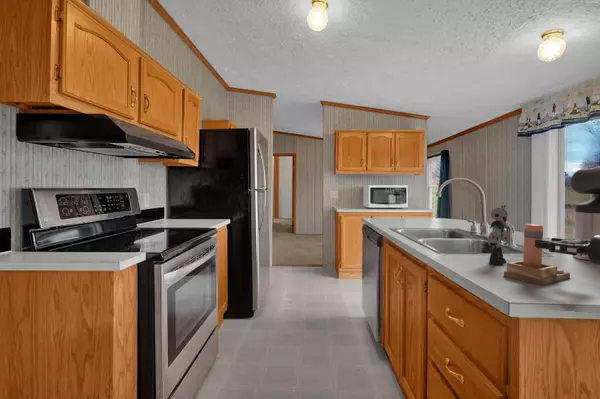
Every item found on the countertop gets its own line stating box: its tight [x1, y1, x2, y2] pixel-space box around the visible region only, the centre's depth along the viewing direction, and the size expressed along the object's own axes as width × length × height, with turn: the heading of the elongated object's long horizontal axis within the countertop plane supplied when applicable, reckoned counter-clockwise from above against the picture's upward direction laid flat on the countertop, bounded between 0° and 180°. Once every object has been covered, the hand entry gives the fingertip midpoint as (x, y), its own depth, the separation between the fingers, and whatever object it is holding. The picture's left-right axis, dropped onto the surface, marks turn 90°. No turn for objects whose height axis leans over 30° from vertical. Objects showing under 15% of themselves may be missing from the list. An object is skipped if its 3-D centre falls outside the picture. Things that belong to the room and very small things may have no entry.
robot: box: [487, 205, 510, 267], centre depth 119 cm, size 20×5×20 cm, turn 139°
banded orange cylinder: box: [522, 223, 544, 269], centre depth 100 cm, size 4×4×14 cm
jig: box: [503, 260, 571, 286], centre depth 102 cm, size 16×10×4 cm, turn 119°
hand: (543, 242), depth 97 cm, fingers open, 8 cm apart
